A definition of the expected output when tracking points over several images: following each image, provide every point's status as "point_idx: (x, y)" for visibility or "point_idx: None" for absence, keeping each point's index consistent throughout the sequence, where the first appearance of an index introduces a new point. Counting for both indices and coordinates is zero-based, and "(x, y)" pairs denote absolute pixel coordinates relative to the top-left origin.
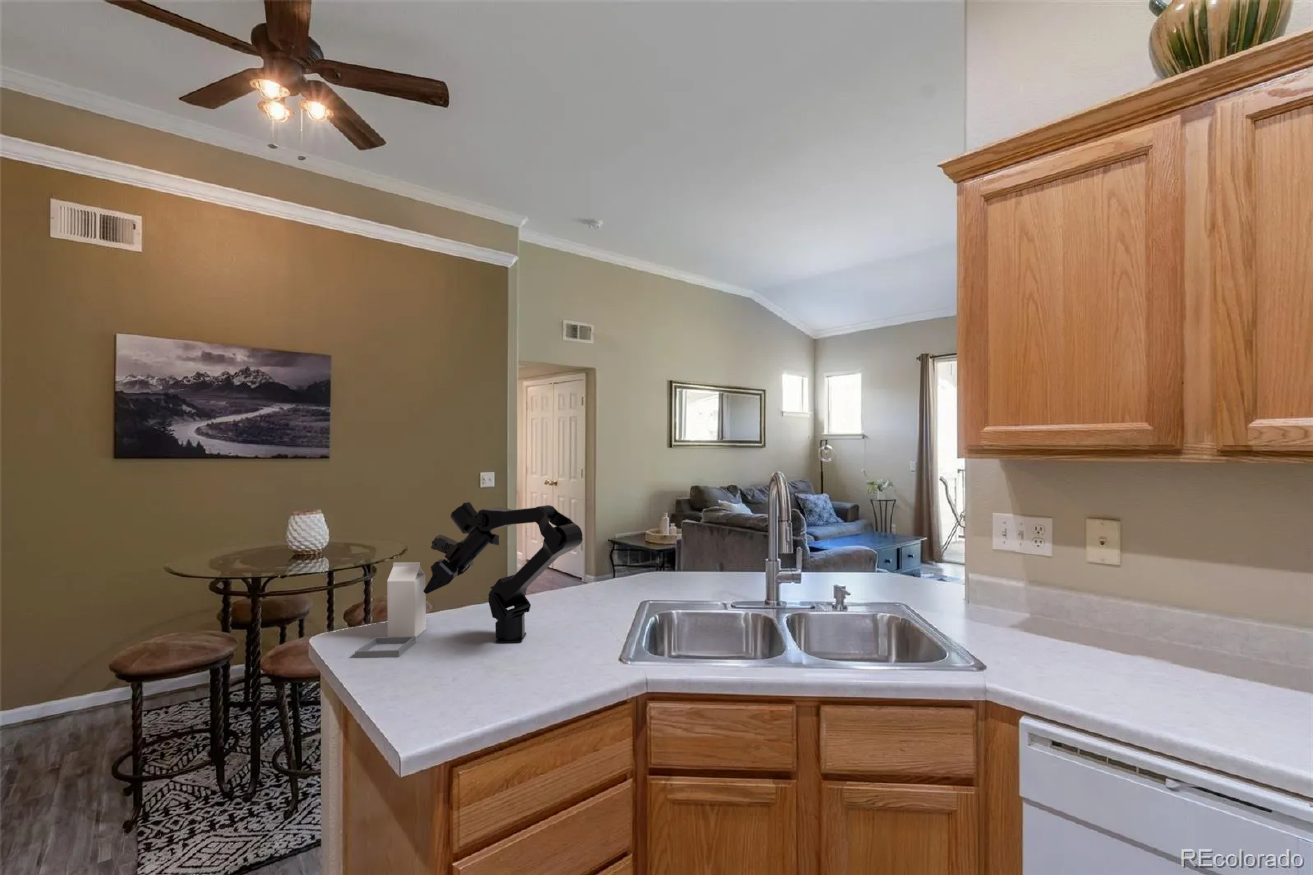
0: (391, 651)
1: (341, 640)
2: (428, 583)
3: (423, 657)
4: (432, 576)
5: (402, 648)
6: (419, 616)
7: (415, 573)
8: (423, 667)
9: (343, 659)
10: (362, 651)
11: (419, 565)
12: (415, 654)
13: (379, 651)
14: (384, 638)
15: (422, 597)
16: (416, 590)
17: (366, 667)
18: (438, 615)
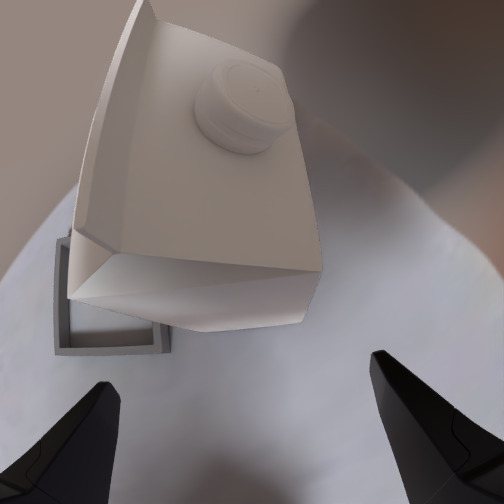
0: (55, 334)
1: None
2: (52, 431)
3: None
4: (3, 474)
5: (73, 355)
6: (228, 324)
7: (82, 262)
8: (29, 434)
9: (63, 222)
10: (55, 257)
11: (101, 242)
12: (83, 393)
13: (54, 301)
14: None
15: (257, 311)
16: (141, 310)
17: (23, 306)
18: (462, 271)
